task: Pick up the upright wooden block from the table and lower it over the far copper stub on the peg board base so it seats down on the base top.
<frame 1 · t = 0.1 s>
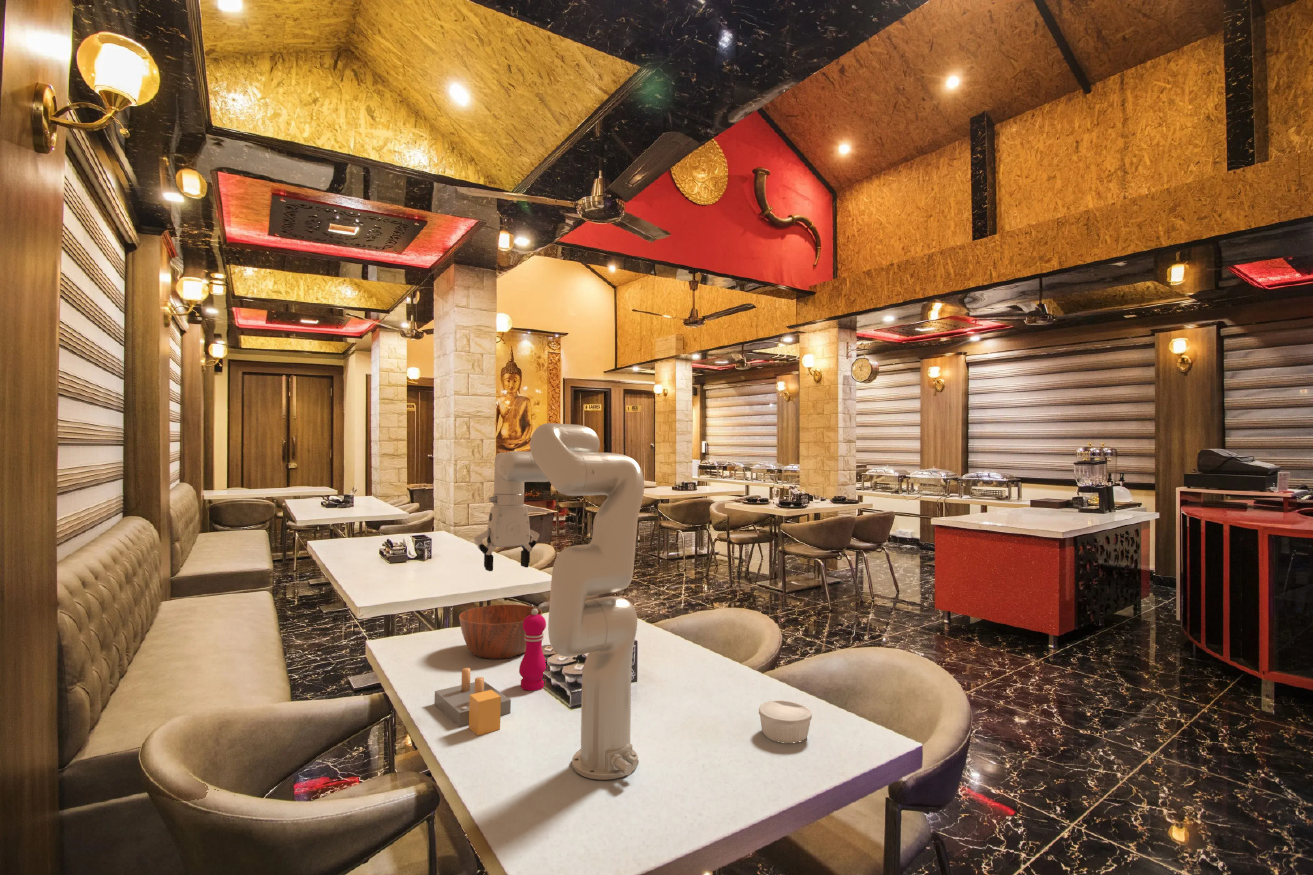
hand: (507, 568, 151), 31 cm above the table, tool pointing down, fingers open, 9 cm apart
bowl: (500, 651, 184), on the table
peg board base: (471, 708, 140), on the table
pepper mill: (532, 687, 154), on the table
ramekin: (785, 735, 128), on the table
upright wooden block: (484, 728, 129), on the table
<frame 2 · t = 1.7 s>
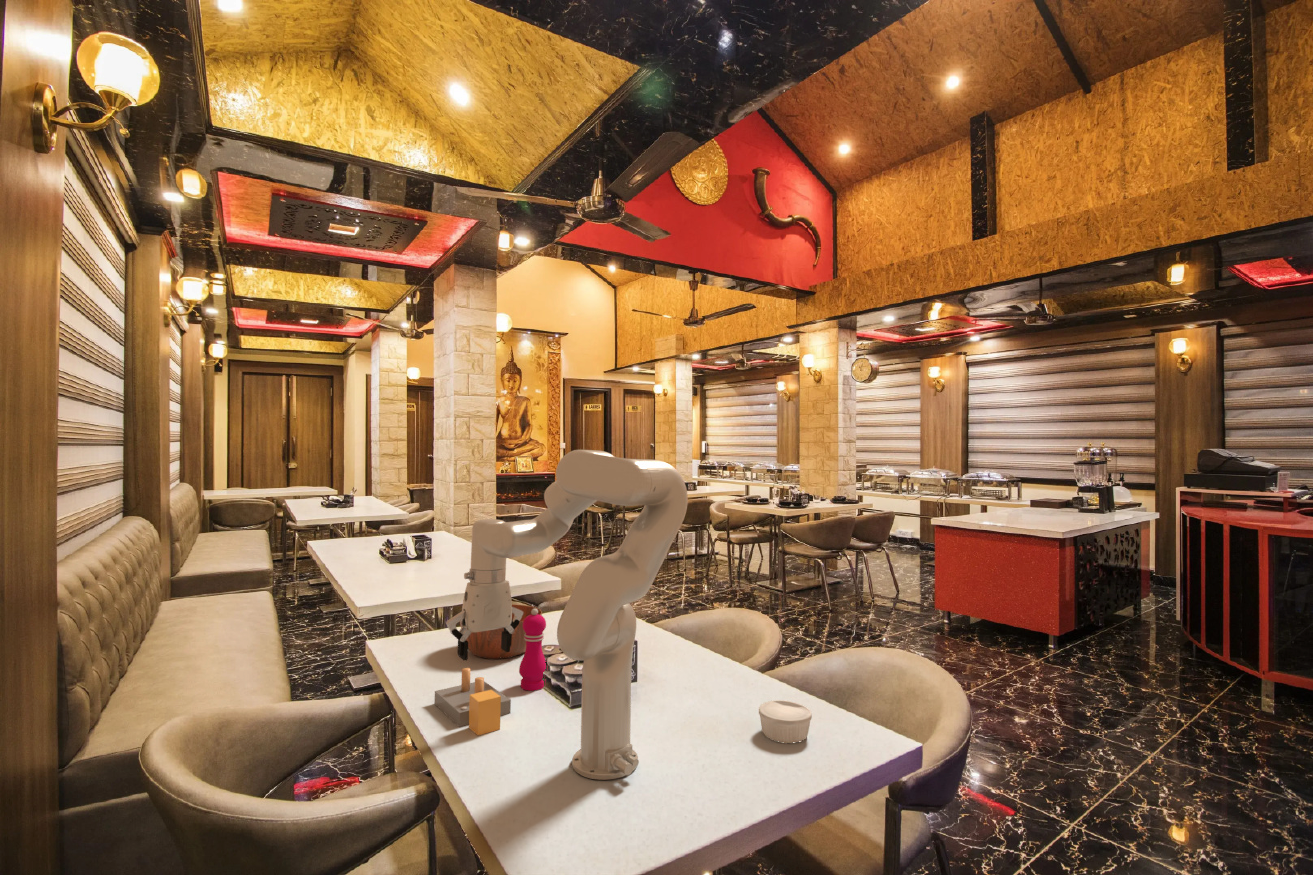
hand: (484, 654, 130), 16 cm above the table, tool pointing down, fingers open, 9 cm apart
nothing on the table moved.
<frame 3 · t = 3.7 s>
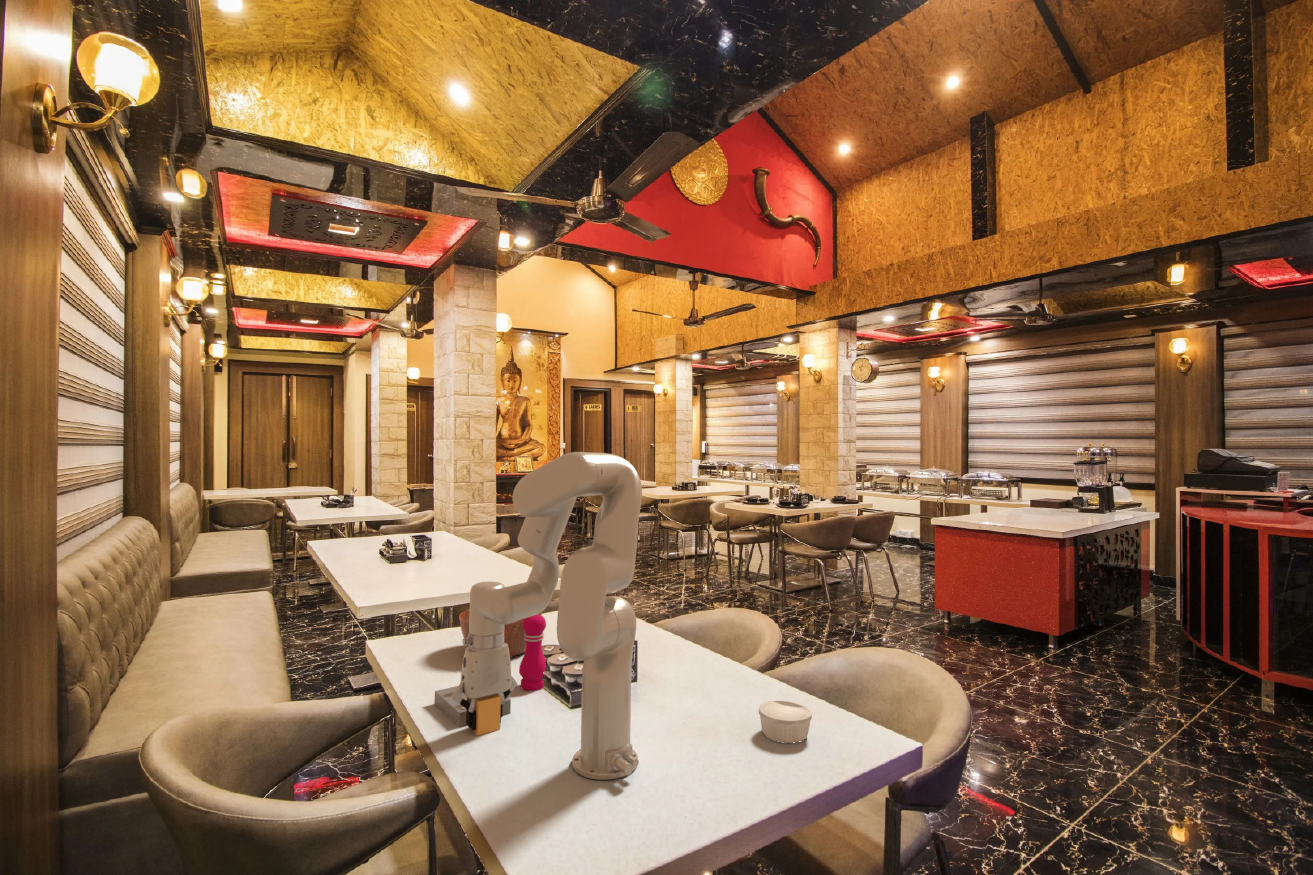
hand: (484, 723, 129), 1 cm above the table, tool pointing down, fingers closed on upright wooden block, 4 cm apart
upright wooden block: (484, 728, 129), on the table, touching gripper
everything else where it was.
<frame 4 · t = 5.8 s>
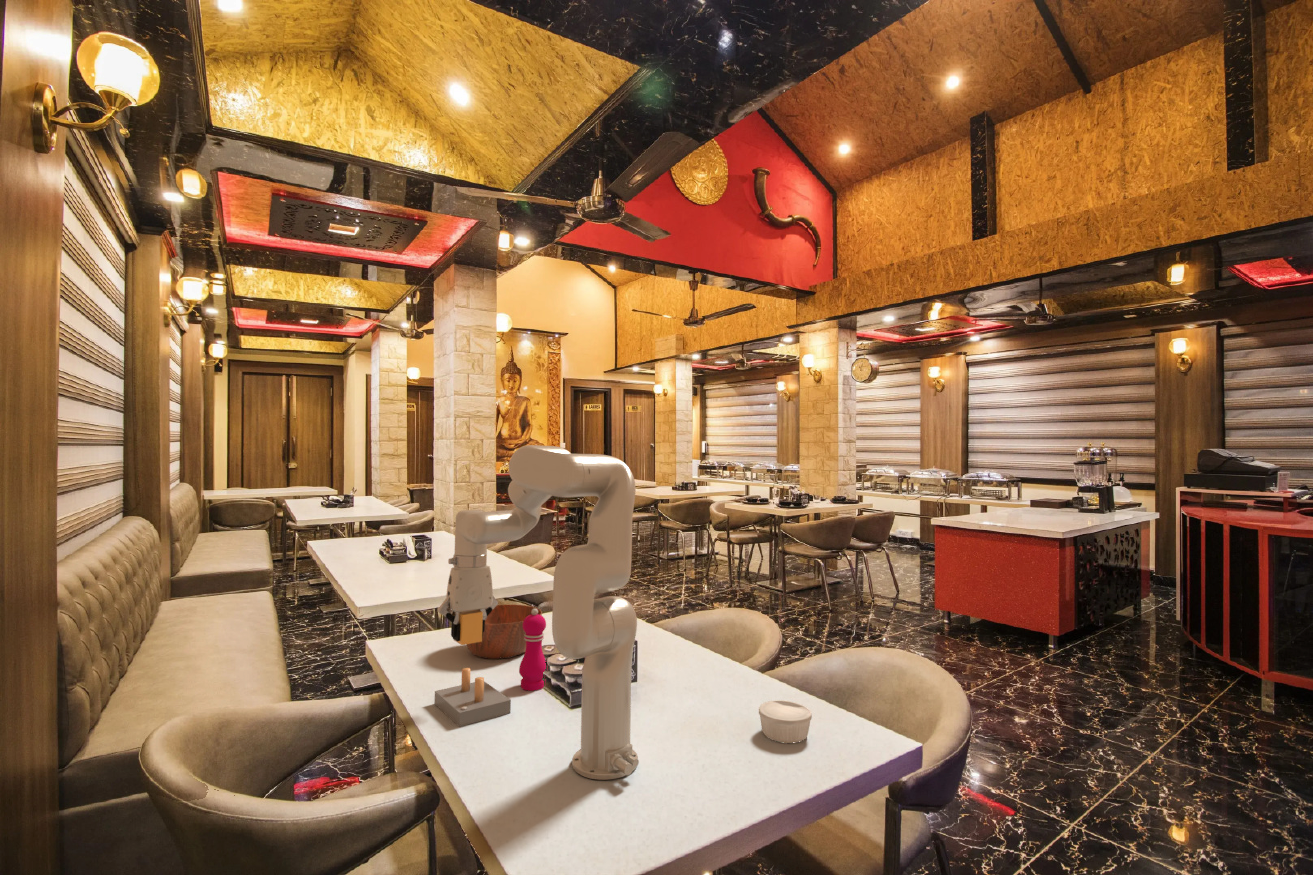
hand: (467, 636, 143), 16 cm above the table, tool pointing down, fingers closed on upright wooden block, 4 cm apart
upright wooden block: (467, 640, 143), point 15 cm above the table, touching gripper
everything else where it was.
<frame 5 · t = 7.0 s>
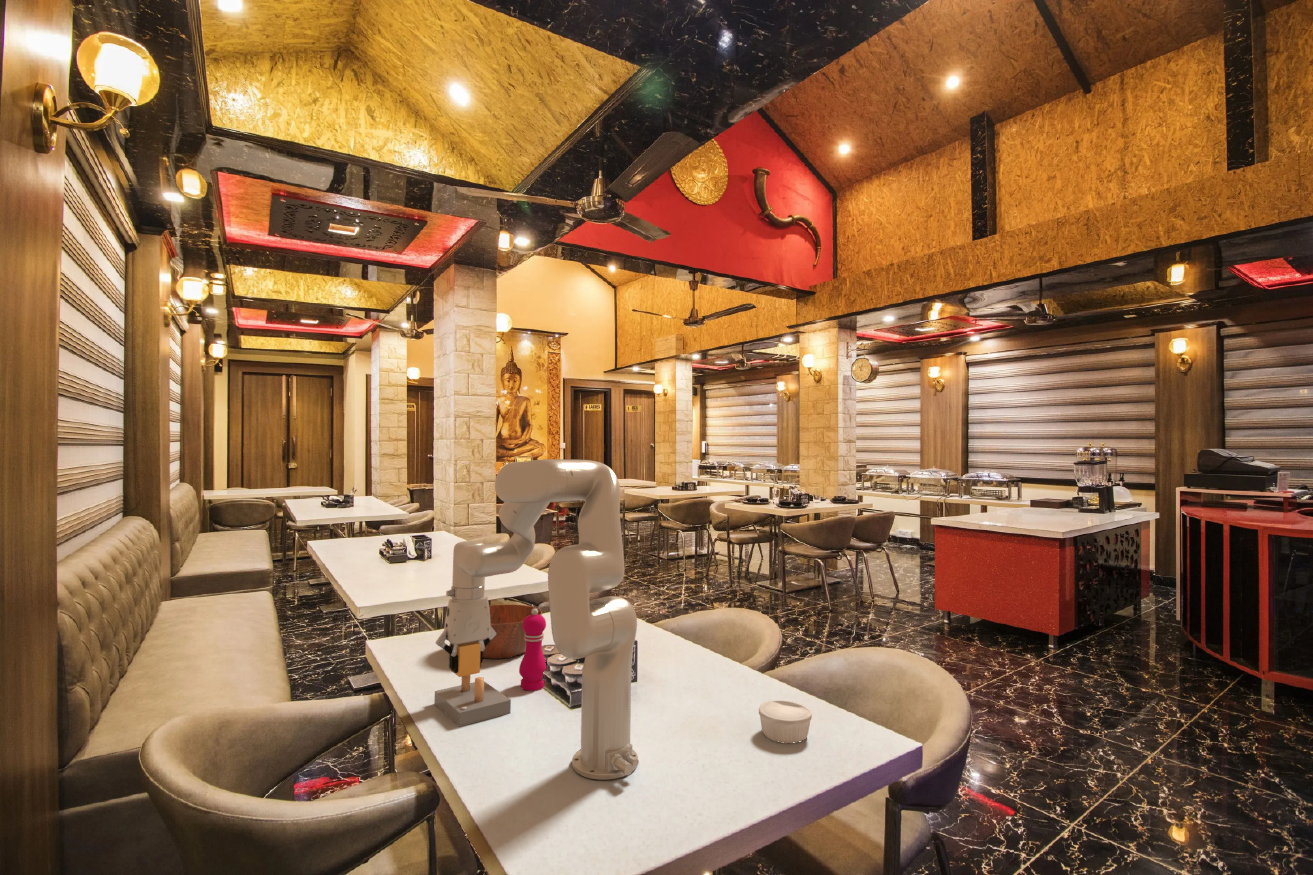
hand: (465, 668, 143), 8 cm above the table, tool pointing down, fingers closed on upright wooden block, 4 cm apart
upright wooden block: (465, 671, 143), point 7 cm above the table, touching gripper
everything else where it was.
when the fingers open (5 cm above the table, at t = 8.0 s): upright wooden block stays where it is, resting on peg board base.
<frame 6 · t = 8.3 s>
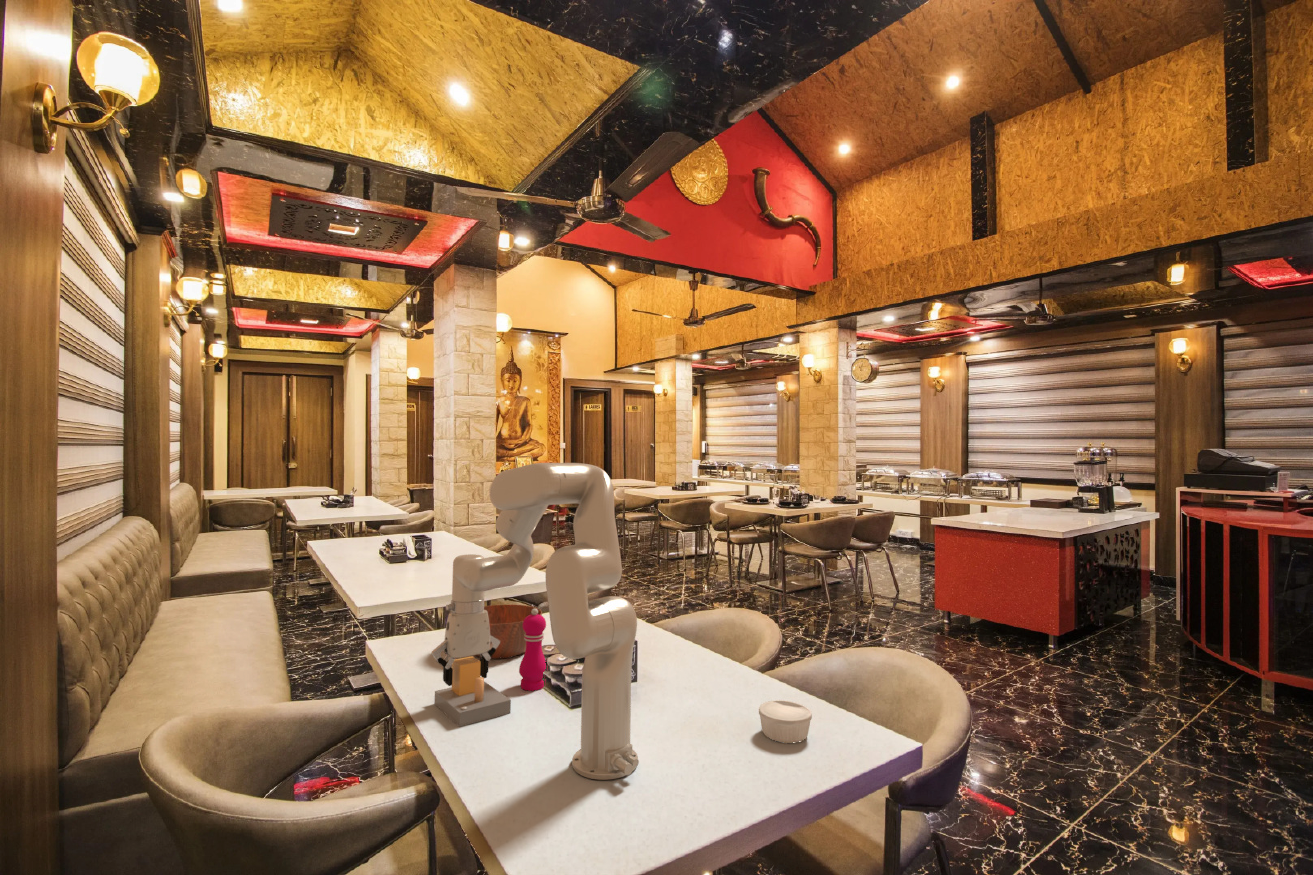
hand: (465, 679, 143), 5 cm above the table, tool pointing down, fingers open, 8 cm apart
upright wooden block: (465, 690, 143), point 3 cm above the table, touching peg board base
everything else where it was.
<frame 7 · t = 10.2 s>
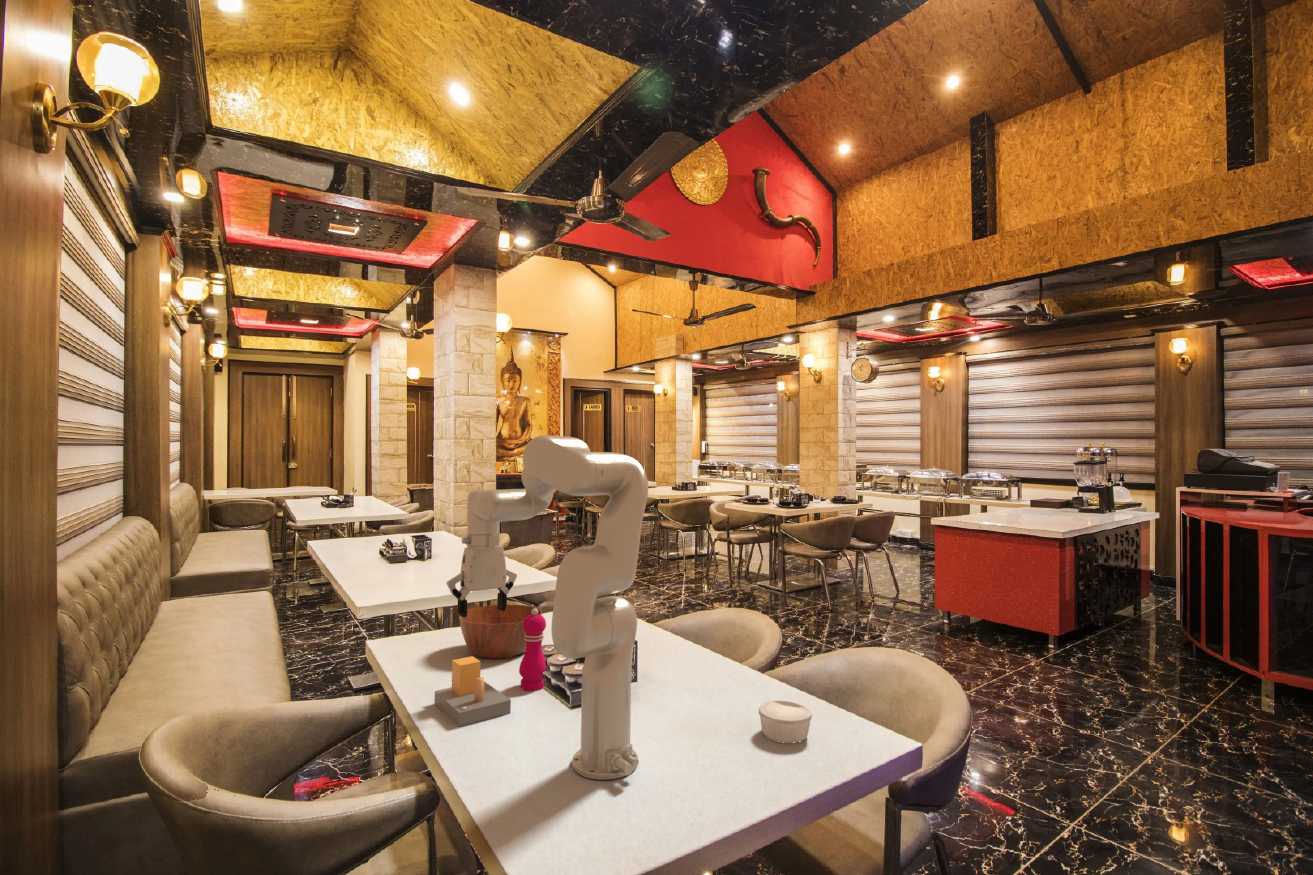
hand: (482, 613, 143), 22 cm above the table, tool pointing down, fingers open, 9 cm apart
nothing on the table moved.
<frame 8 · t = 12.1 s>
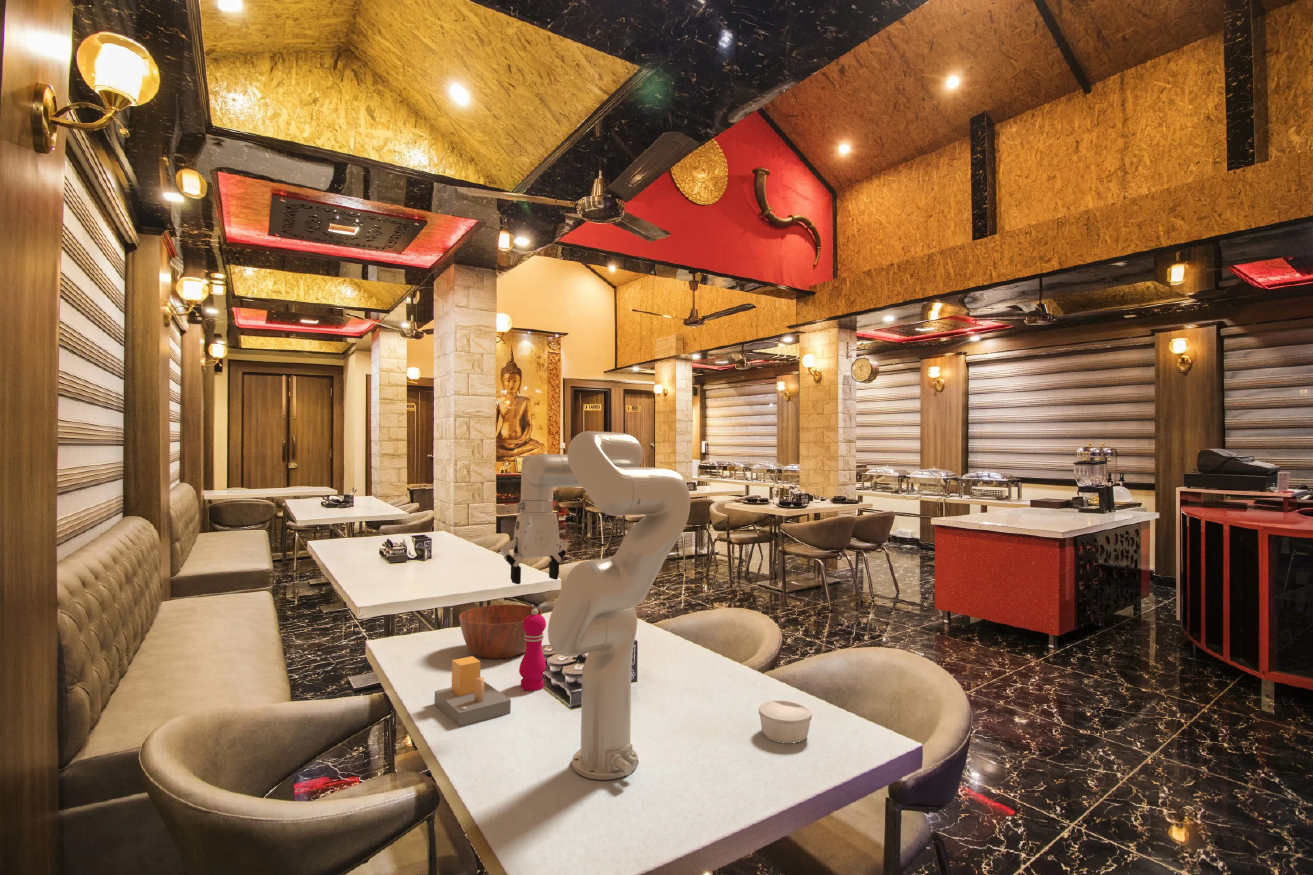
hand: (535, 580, 139), 30 cm above the table, tool pointing down, fingers open, 9 cm apart
nothing on the table moved.
at the end: upright wooden block 0.0 cm from the target spot on the peg board base, point 3.0 cm above the peg board base's base; upright wooden block tilted 0°; the gripper is holding nothing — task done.
